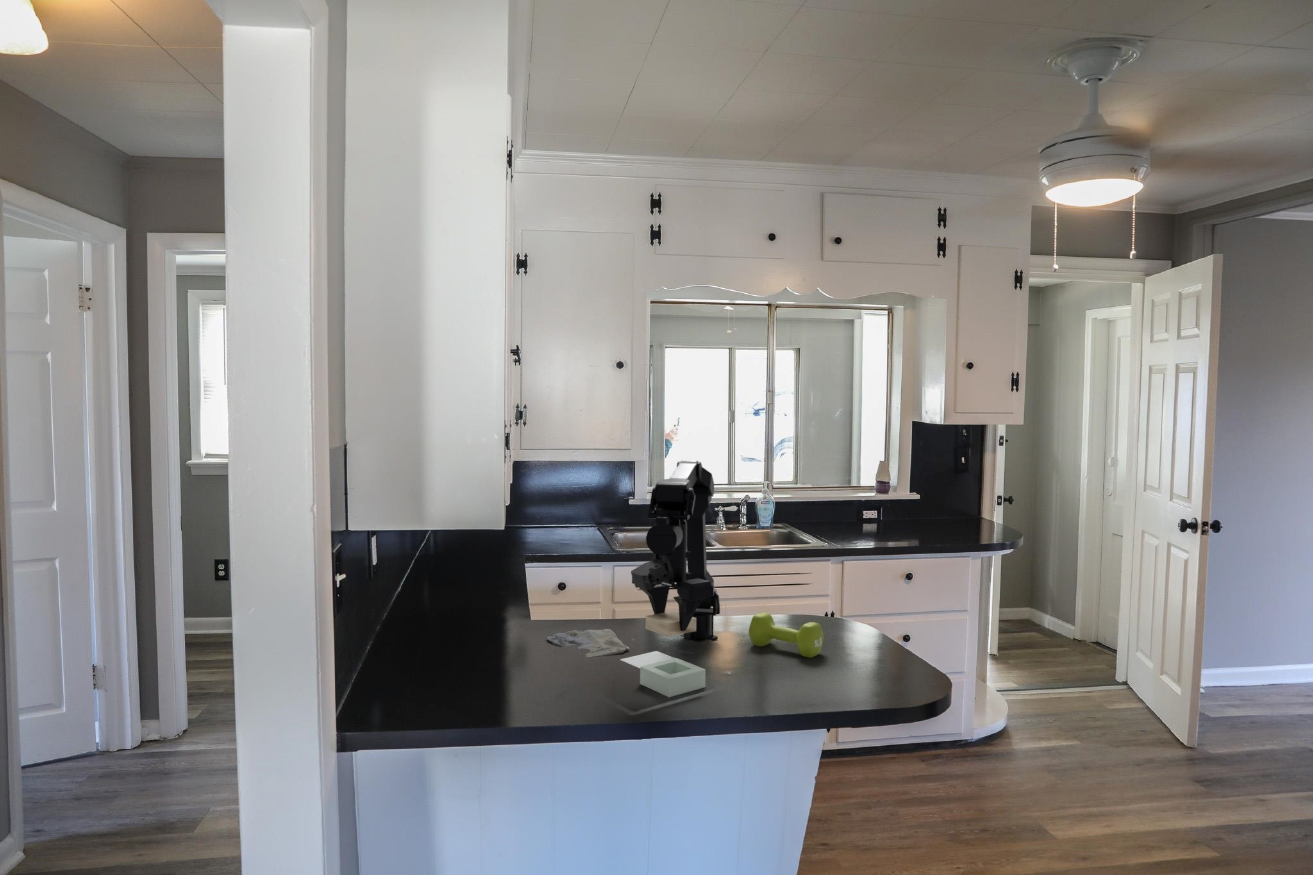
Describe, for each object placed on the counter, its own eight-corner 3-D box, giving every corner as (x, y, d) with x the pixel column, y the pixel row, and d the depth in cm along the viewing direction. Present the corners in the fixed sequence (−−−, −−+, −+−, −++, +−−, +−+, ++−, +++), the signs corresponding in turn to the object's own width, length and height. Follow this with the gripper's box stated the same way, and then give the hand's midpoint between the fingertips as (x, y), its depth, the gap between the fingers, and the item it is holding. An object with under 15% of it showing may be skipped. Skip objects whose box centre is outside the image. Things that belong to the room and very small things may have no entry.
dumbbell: (745, 647, 189) (745, 615, 189) (763, 639, 195) (764, 608, 195) (808, 662, 178) (809, 629, 178) (826, 653, 185) (827, 621, 184)
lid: (673, 623, 166) (673, 610, 166) (696, 630, 161) (696, 618, 160) (645, 628, 162) (645, 615, 162) (667, 636, 156) (667, 623, 156)
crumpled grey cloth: (633, 657, 182) (633, 646, 182) (565, 665, 177) (565, 654, 177) (609, 635, 199) (609, 625, 199) (546, 641, 193) (546, 631, 193)
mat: (656, 653, 183) (656, 650, 183) (685, 665, 175) (685, 662, 175) (619, 662, 177) (619, 659, 177) (648, 674, 169) (648, 671, 169)
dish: (675, 677, 168) (675, 657, 168) (705, 689, 161) (705, 669, 160) (640, 686, 162) (640, 666, 162) (669, 700, 155) (669, 678, 155)
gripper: (610, 543, 163) (609, 622, 164) (669, 557, 148) (668, 644, 149) (655, 539, 170) (654, 614, 170) (716, 551, 155) (715, 634, 156)
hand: (671, 626), depth 161 cm, fingers closed on lid, 7 cm apart
